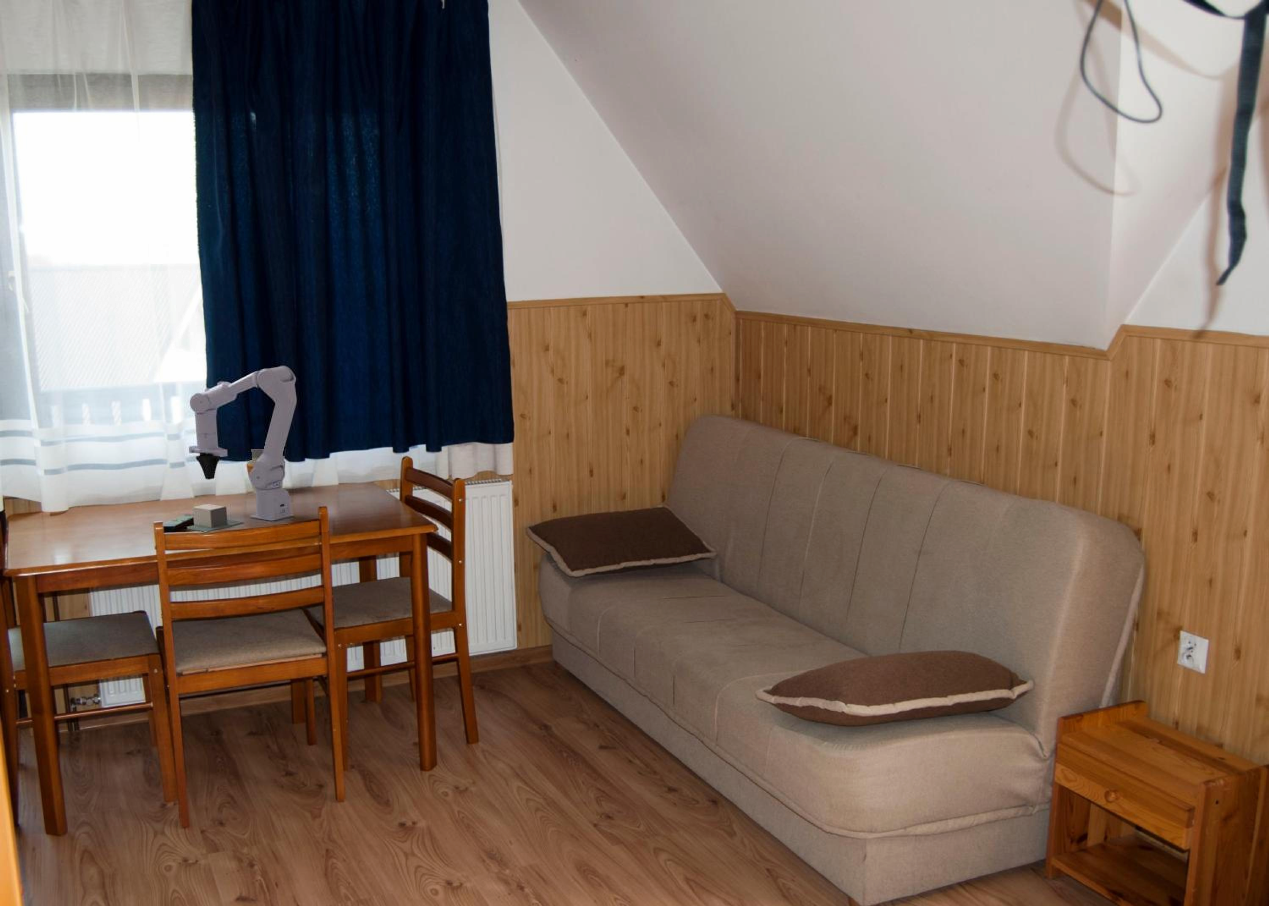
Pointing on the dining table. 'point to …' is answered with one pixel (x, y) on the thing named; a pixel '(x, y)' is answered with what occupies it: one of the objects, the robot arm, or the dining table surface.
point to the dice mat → (204, 528)
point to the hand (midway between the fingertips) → (209, 478)
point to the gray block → (210, 515)
